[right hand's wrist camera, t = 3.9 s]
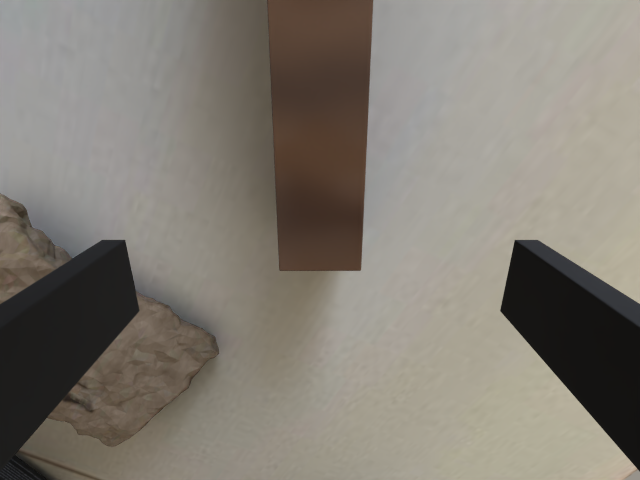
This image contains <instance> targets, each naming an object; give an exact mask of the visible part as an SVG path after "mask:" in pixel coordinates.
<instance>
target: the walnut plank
mask: <svg viewBox="0 0 640 480" xmlns="http://www.w3.org/2000/svg"><path fill="white" fill-rule="evenodd" d="M267 4H268V26H269V49H270V71H271V94H272V116H273V139H274V161H275V184H276V206H277V228H278V251H279V270H280V271H360V270H361V259H362V237H363V215H364V193H365V170H366V148H367V126H368V103H369V81H370V59H371V37H372V14H373V0H267Z"/></svg>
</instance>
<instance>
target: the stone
mask: <svg viewBox="0 0 640 480" xmlns="http://www.w3.org/2000/svg"><path fill="white" fill-rule="evenodd" d="M71 259H72V258H71V257H70V255H69V254H68V253H67V252H66V251H65V250H64V249H62V248H61V247H58V246H54V245H53V243H52V241H51V239H49V238H48V237H47V236H46V235H45V234H44V233H43V231H40V230H37V229H35V228H32V226H31V223H30V221H29V218H28V214H27V210H26V209H25V207H24V206H23V205H22V204H20V203H18V202H16V201H14V200H11V199H9V198H8V197H6V196H5V195H3V194H0V304H1V303H3V302H4V301H6V300H8V299H9V298H11V297H12V296H14V295H16V294H17V293H19V292H20V291H22V290H24V289H25V288H27V287H28V286H30V285H31V284H33V283H35V282H36V281H38V280H39V279H41V278H43V277H44V276H46V275H47V274H49V273H51V272H52V271H54V270H55V269H57V268H59V267H60V266H62V265H63V264H65V263H67V262H68V261H70V260H71ZM136 296H137V300H138V305H139V310H140V311H139V312H138V313H137V315H136V316H135V317H134V318H133V319H132V320H131V321H130V323H129V324H128V325H127V326H126V327H125V328H124V329H123V331H122V332H121V333H120V334H119V335H118V336H117V338H116V339H115V340H114V341H113V342H112V343H111V344H110V346H109V347H108V348H107V349H106V350H105V351H104V352H103V354H102V355H101V356H100V357H99V358H98V359H97V361H96V362H95V363H94V364H93V365H92V366H91V367H90V369H89V370H88V371H87V372H86V373H85V374H84V375H83V377H82V378H81V379H80V380H79V381H78V382H77V384H76V385H75V386H74V387H73V388H72V389H71V390H70V392H69V393H68V394H67V395H66V396H65V397H64V398H63V400H62V401H61V402H60V403H59V404H58V405H57V407H56V408H55V409H54V410H53V411H52V412H51V413H50V415H49V416H48V417H47V418H50V419H53V420H58V421H66V422H69V423H71V424H72V426H73V427H74V428H75V429H76V430H77V433H78V434H79V435H89V436H92V437H95V438H98V439H100V440H101V442H102V443H103V444H105V445H107V446H111V447H113V446H116V445H118V444H120V443H122V442H123V441H125V440H127V439H129V438H130V437H132V436H133V435H134V434H135V433H137V432H138V431H139V430H140V429H142V428H143V427H144V426H145V425H146V424H147V423H148V422H149V420H150V419H151V418H152V417H154V416H155V415H156V414H157V413H158V412H159V411H161V410H162V409H163V407H165V406H166V405H167V404H169V403H170V402H171V401H173V400H174V399H175V398H176V397H177V396H179V395H180V394H181V393H182V392H183V391H185V390H186V389H188V388H189V385H190V382H191V379H192V378H193V377H194V376H195V375H196V374H197V373H198V372H199V370H200V369H201V368H202V366H203V365H204V364H205V363H206V362H207V361H208V360H209V359H211V358H214V357H215V356H217V355H218V354H219V349H218V346H217V343H216V339H215V337H214V336H212V335H211V334H209V333H207V332H206V331H205V330H203V329H202V328H199V327H197V326H195V325H193V324H190V323H188V322H185V321H183V320H182V319H180V318H179V316H178V315H176V314H175V313H173V312H172V310H171V308H170V307H169V306H168V305H165V304H163V303H161V302H157V301H155V300H154V299H153V298H148V297H145V296H143V295H141V294H140V293H138V292H137V291H136Z"/></svg>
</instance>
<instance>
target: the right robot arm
mask: <svg viewBox="0 0 640 480" xmlns="http://www.w3.org/2000/svg"><path fill="white" fill-rule="evenodd" d="M139 311H140V310H139V305H138V300H137V296H136V291H135V286H134V281H133V276H132V271H131V267H130V262H129V257H128V252H127V247H126V242H125V240H102V241H100V242H98V243H97V244H95V245H94V246H92V247H90V248H89V249H87V250H86V251H84V252H82V253H81V254H79V255H78V256H76V257H75V258H73V259H71V260H70V261H68V262H67V263H65V264H63V265H62V266H60V267H59V268H57V269H55V270H54V271H52V272H51V273H49V274H47V275H46V276H44V277H43V278H41V279H39V280H38V281H36V282H35V283H33V284H31V285H30V286H28V287H27V288H25V289H24V290H22V291H20V292H19V293H17V294H16V295H14V296H12V297H11V298H9V299H8V300H6V301H4V302H3V303H1V304H0V471H1V470H2V469H3V468H4V466H5V465H6V464H7V463H8V462H9V461H10V459H11V458H12V457H13V456H14V455H15V454H16V453H17V451H18V450H19V449H20V448H21V447H22V446H23V445H24V443H25V442H26V441H27V440H28V439H29V438H30V436H31V435H32V434H33V433H34V432H35V431H36V430H37V428H38V427H39V426H40V425H41V424H42V423H43V422H44V420H45V419H46V418H47V417H48V416H49V415H50V413H51V412H52V411H53V410H54V409H55V408H56V407H57V405H58V404H59V403H60V402H61V401H62V400H63V398H64V397H65V396H66V395H67V394H68V393H69V392H70V390H71V389H72V388H73V387H74V386H75V385H76V384H77V382H78V381H79V380H80V379H81V378H82V377H83V375H84V374H85V373H86V372H87V371H88V370H89V369H90V367H91V366H92V365H93V364H94V363H95V362H96V361H97V359H98V358H99V357H100V356H101V355H102V354H103V352H104V351H105V350H106V349H107V348H108V347H109V346H110V344H111V343H112V342H113V341H114V340H115V339H116V338H117V336H118V335H119V334H120V333H121V332H122V331H123V329H124V328H125V327H126V326H127V325H128V324H129V323H130V321H131V320H132V319H133V318H134V317H135V316H136V315H137V313H138V312H139ZM500 311H501V312H502V313H503V315H504V316H505V317H506V318H507V319H508V320H509V321H510V323H511V324H512V325H513V326H514V327H515V328H516V329H517V331H518V332H519V333H520V334H521V335H522V336H523V338H524V339H525V340H526V341H527V342H528V343H529V344H530V346H531V347H532V348H533V349H534V350H535V351H536V352H537V354H538V355H539V356H540V357H541V358H542V359H543V361H544V362H545V363H546V364H547V365H548V366H549V367H550V369H551V370H552V371H553V372H554V373H555V374H556V375H557V377H558V378H559V379H560V380H561V381H562V382H563V384H564V385H565V386H566V387H567V388H568V389H569V390H570V392H571V393H572V394H573V395H574V396H575V397H576V398H577V400H578V401H579V402H580V403H581V404H582V405H583V407H584V408H585V409H586V410H587V411H588V412H589V413H590V415H591V416H592V417H593V418H594V419H595V420H596V422H597V423H598V424H599V425H600V426H601V427H602V428H603V430H604V431H605V432H606V433H607V434H608V435H609V436H610V438H611V439H612V440H613V441H614V442H615V443H616V445H617V446H618V447H619V448H620V449H621V450H622V451H623V453H624V454H625V455H626V456H627V457H628V458H629V459H630V461H631V462H632V463H633V464H634V465H635V466H636V468H637V469H638V470H639V471H640V304H639V303H637V302H636V301H634V300H632V299H631V298H629V297H628V296H626V295H624V294H623V293H621V292H620V291H618V290H616V289H615V288H613V287H612V286H610V285H609V284H607V283H605V282H604V281H602V280H601V279H599V278H597V277H596V276H594V275H593V274H591V273H589V272H588V271H586V270H585V269H583V268H581V267H580V266H578V265H577V264H575V263H573V262H572V261H570V260H569V259H567V258H565V257H564V256H562V255H561V254H559V253H558V252H556V251H554V250H553V249H551V248H550V247H548V246H546V245H545V244H543V243H542V242H540V241H538V240H515V242H514V247H513V252H512V257H511V262H510V267H509V271H508V276H507V281H506V286H505V291H504V296H503V300H502V305H501V310H500Z"/></svg>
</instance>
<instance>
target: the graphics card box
mask: <svg viewBox="0 0 640 480" xmlns="http://www.w3.org/2000/svg"><path fill="white" fill-rule="evenodd" d="M0 480H47V479H46V478H44V477H43V476H42V475H40V474H39V473H37V472H36V471H35V470H33V469H32V468H30V467H29V466H28V465H26V464H25V463H24V462H23V461H22V460H20V459H19V458H17V457H16V456H13V457H12V458H11V459H10V461H9V462H8V463H7V464H6V465H5V466H4V468H3V469H2V470H1V471H0Z"/></svg>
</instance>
